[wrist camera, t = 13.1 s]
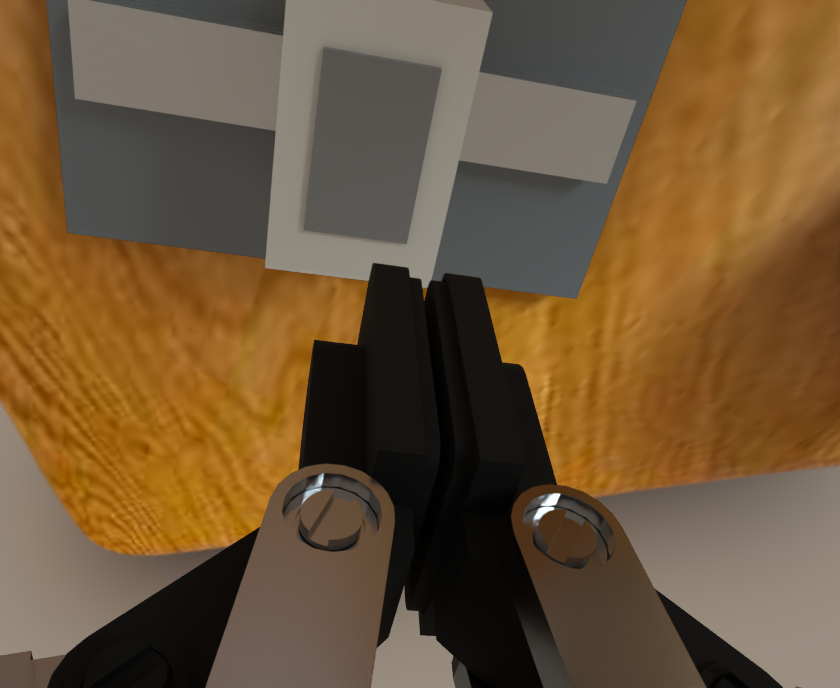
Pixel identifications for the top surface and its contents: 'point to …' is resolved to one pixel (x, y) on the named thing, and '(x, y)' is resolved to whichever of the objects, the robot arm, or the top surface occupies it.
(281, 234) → the module
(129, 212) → the board
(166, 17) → the steel rail
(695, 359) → the top surface
